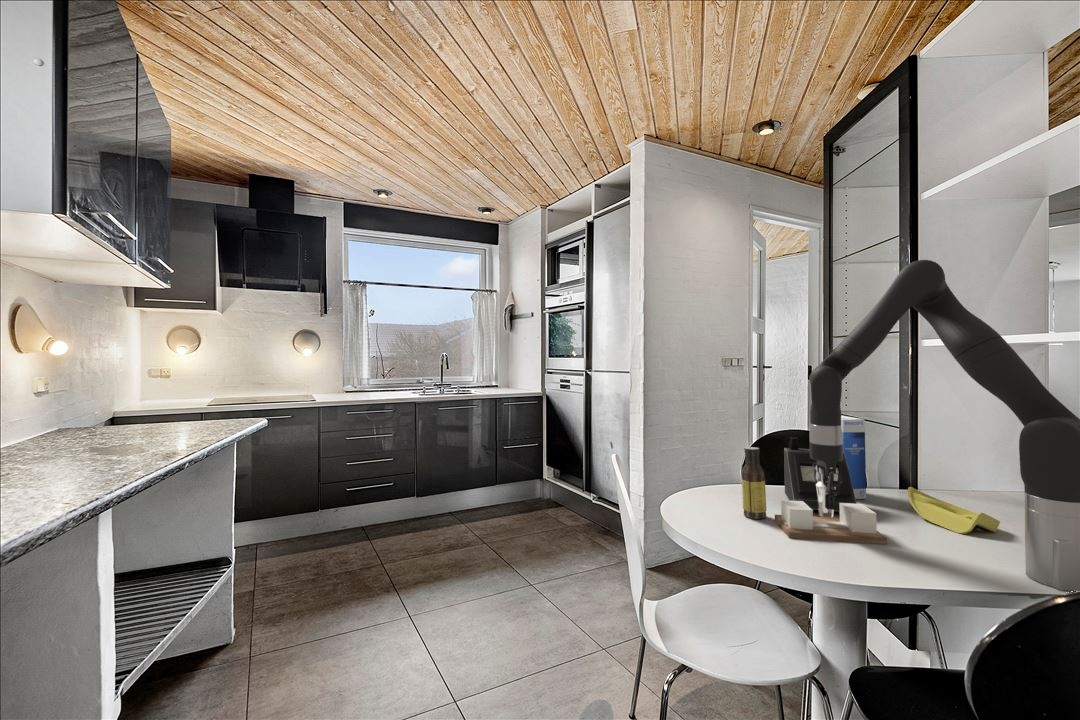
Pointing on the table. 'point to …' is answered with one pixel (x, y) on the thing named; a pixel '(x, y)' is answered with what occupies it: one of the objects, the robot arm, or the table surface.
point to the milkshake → (823, 501)
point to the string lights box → (855, 453)
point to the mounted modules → (850, 515)
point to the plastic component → (949, 514)
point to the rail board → (830, 531)
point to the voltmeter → (811, 477)
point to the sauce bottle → (753, 485)
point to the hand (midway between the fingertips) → (826, 505)
